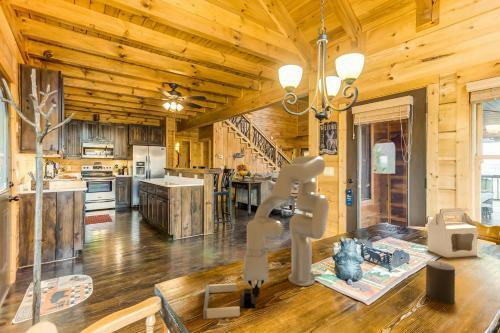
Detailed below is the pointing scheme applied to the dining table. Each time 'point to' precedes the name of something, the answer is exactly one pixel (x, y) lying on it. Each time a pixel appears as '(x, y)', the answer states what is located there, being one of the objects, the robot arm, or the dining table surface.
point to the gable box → (461, 233)
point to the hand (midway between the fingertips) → (255, 295)
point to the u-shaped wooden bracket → (224, 310)
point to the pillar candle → (440, 281)
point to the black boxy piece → (247, 300)
